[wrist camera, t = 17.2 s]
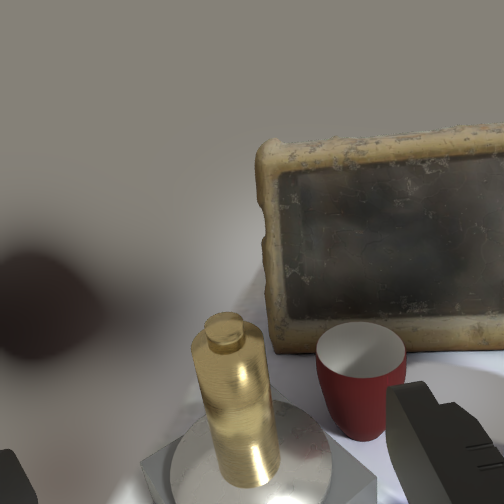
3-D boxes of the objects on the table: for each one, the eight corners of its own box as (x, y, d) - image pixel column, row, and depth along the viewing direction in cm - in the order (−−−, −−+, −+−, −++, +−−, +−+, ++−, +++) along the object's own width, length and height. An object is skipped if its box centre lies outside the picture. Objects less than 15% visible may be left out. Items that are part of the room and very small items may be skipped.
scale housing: (269, 414, 49) (264, 379, 47) (377, 516, 38) (376, 476, 36) (149, 493, 43) (136, 457, 41) (237, 644, 32) (226, 606, 29)
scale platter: (266, 385, 46) (265, 377, 45) (367, 473, 36) (367, 464, 36) (146, 460, 40) (143, 452, 39) (228, 591, 30) (226, 582, 30)
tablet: (270, 373, 55) (241, 171, 44) (271, 306, 67) (248, 135, 56) (560, 354, 52) (611, 130, 41) (505, 288, 64) (533, 102, 53)
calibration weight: (256, 424, 40) (233, 293, 34) (293, 462, 37) (275, 323, 30) (207, 457, 38) (173, 323, 32) (241, 501, 34) (211, 359, 28)
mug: (329, 376, 53) (325, 304, 49) (403, 383, 51) (406, 308, 46) (315, 453, 44) (308, 374, 40) (404, 466, 42) (407, 383, 38)
